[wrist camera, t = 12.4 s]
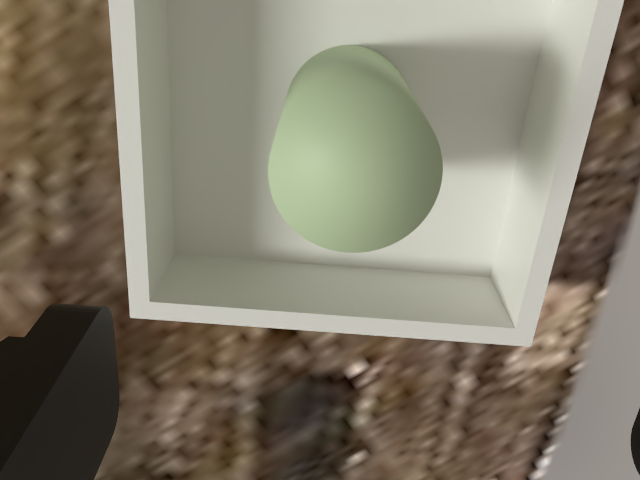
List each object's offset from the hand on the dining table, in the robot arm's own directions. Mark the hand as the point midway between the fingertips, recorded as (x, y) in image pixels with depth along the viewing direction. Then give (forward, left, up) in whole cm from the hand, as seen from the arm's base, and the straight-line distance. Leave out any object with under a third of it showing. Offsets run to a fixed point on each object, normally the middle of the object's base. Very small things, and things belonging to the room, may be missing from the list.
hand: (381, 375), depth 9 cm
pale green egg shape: (0, 0, -17) cm, 17 cm away
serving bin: (0, 0, -18) cm, 18 cm away
